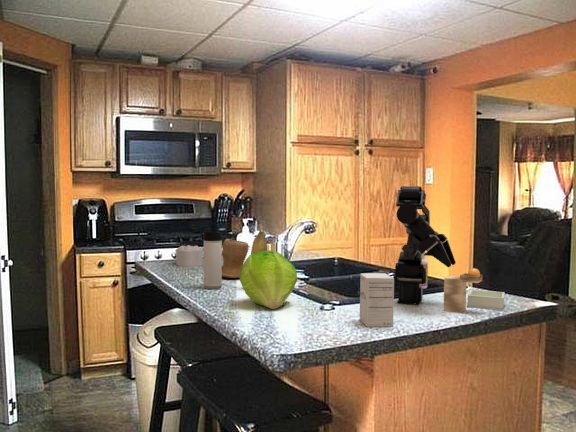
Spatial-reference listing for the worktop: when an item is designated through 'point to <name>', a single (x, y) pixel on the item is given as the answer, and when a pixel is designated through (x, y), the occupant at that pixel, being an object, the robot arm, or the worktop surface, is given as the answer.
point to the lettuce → (268, 278)
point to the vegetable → (259, 243)
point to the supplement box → (376, 299)
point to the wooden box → (457, 292)
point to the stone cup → (233, 257)
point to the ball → (474, 272)
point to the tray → (486, 299)
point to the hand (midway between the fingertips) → (452, 265)
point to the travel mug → (212, 260)
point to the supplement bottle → (426, 270)
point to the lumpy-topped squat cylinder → (188, 256)
